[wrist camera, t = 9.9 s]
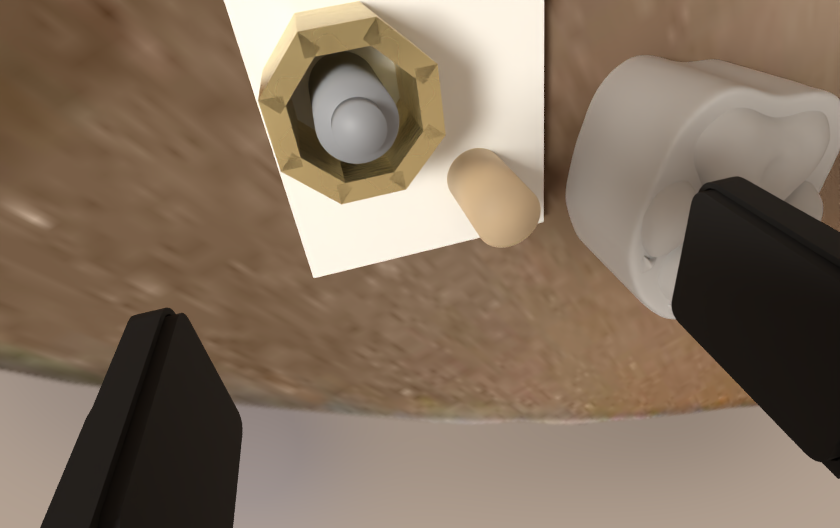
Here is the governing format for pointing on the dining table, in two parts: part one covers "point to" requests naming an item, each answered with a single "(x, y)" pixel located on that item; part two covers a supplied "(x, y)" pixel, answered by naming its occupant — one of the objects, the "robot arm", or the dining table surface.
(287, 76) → the brass collar
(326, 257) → the post board
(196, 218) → the dining table surface
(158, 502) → the robot arm
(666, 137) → the lumpy-topped squat cylinder
